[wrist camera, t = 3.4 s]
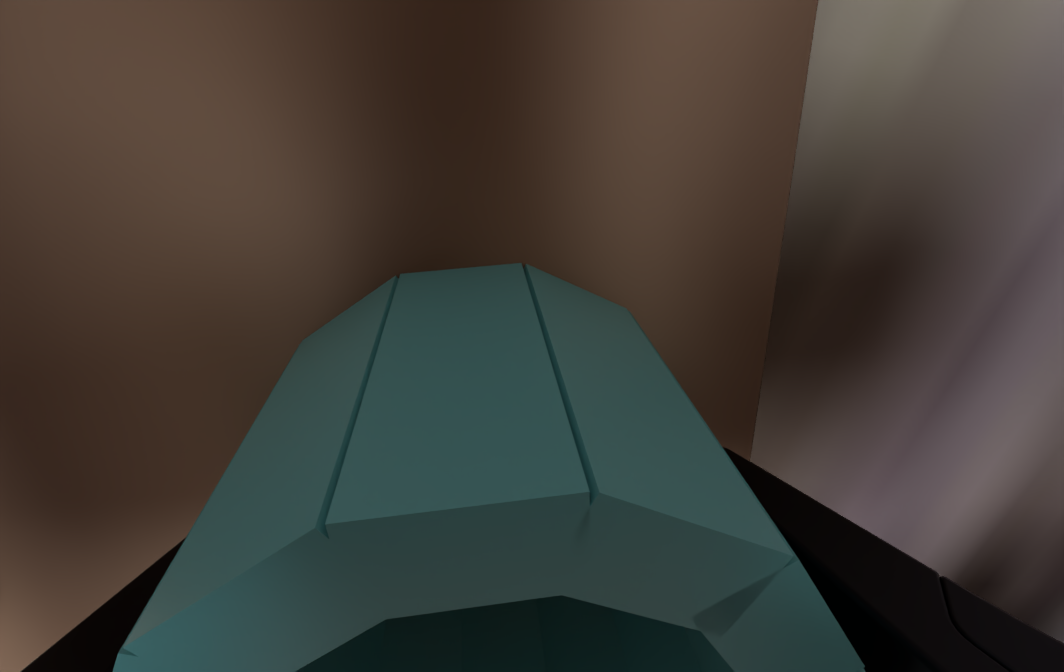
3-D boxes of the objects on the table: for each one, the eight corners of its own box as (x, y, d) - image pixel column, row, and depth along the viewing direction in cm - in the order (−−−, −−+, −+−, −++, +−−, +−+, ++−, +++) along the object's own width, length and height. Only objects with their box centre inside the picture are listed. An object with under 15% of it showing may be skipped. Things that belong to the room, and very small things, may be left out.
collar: (689, 247, 8) (940, 447, 4) (665, 569, 12) (793, 885, 7) (218, 290, 8) (-92, 575, 4) (325, 616, 11) (233, 986, 7)
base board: (773, -95, 8) (847, -133, 6) (693, 634, 15) (719, 698, 14) (-1297, -4, 6) (-1875, -26, 5) (-279, 775, 13) (-375, 867, 12)
